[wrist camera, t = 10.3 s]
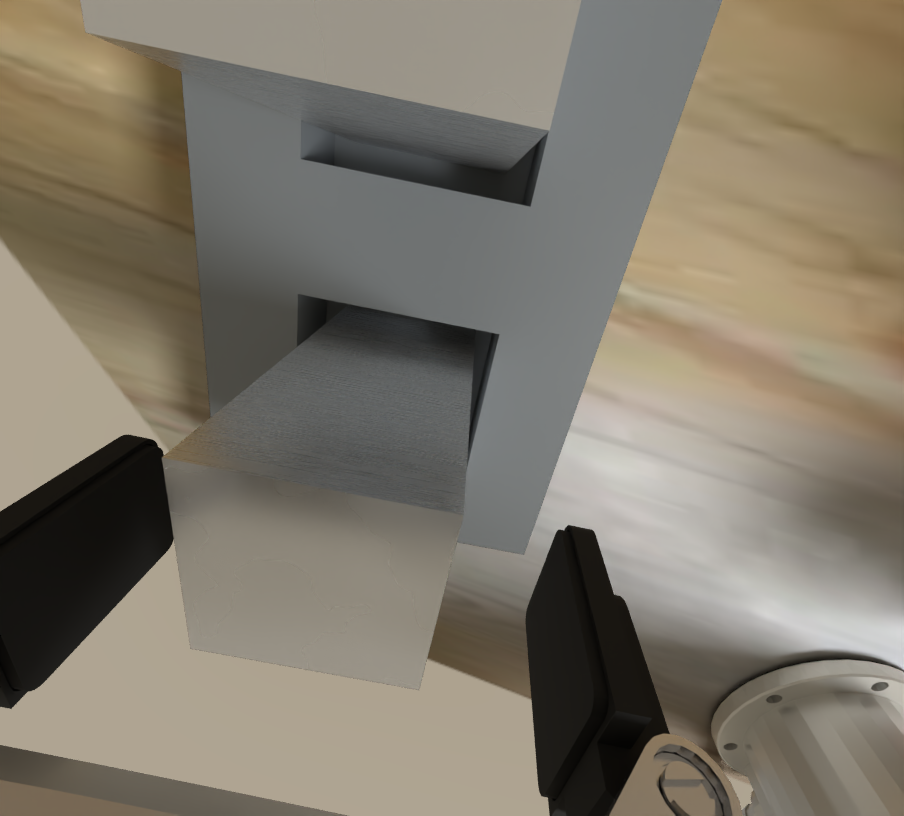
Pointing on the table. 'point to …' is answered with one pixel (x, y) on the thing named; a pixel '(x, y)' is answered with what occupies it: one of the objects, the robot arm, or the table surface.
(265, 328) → the tray
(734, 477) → the table surface
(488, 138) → the block
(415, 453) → the loose billet
